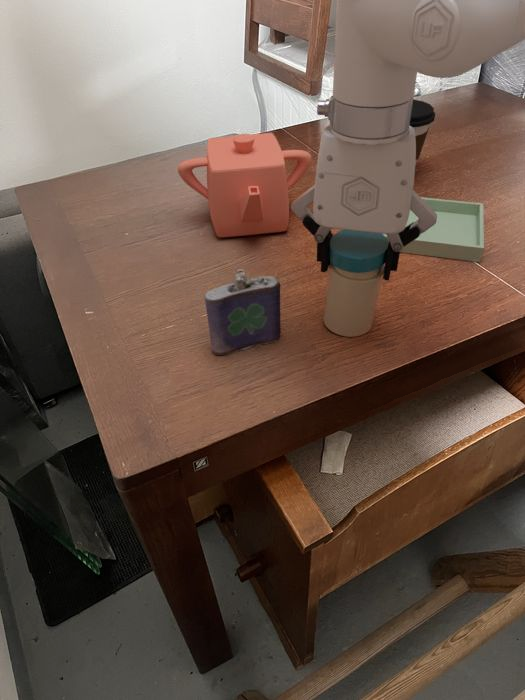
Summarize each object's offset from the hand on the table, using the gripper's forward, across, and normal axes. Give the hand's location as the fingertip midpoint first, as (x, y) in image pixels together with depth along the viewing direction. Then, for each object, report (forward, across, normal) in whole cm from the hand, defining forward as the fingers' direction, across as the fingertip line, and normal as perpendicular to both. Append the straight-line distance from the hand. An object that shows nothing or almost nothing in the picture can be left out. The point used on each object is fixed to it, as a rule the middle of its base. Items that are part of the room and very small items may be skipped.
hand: (356, 269), depth 61 cm
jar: (+9, -1, +1) cm, 9 cm away
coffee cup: (+9, +1, +48) cm, 49 cm away
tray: (+9, +7, +26) cm, 28 cm away
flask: (+9, -12, -7) cm, 17 cm away
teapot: (+9, -21, +22) cm, 32 cm away
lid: (-3, 0, 0) cm, 3 cm away
